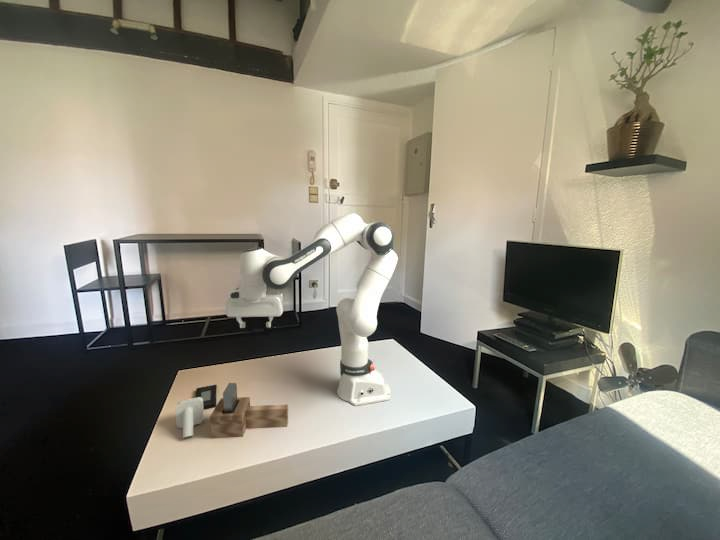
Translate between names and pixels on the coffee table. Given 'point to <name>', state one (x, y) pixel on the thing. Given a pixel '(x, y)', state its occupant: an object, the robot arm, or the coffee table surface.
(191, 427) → the wall hook
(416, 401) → the coffee table surface
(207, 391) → the vhs tape
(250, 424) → the slotted wooden socket block
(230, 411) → the grey wood block
